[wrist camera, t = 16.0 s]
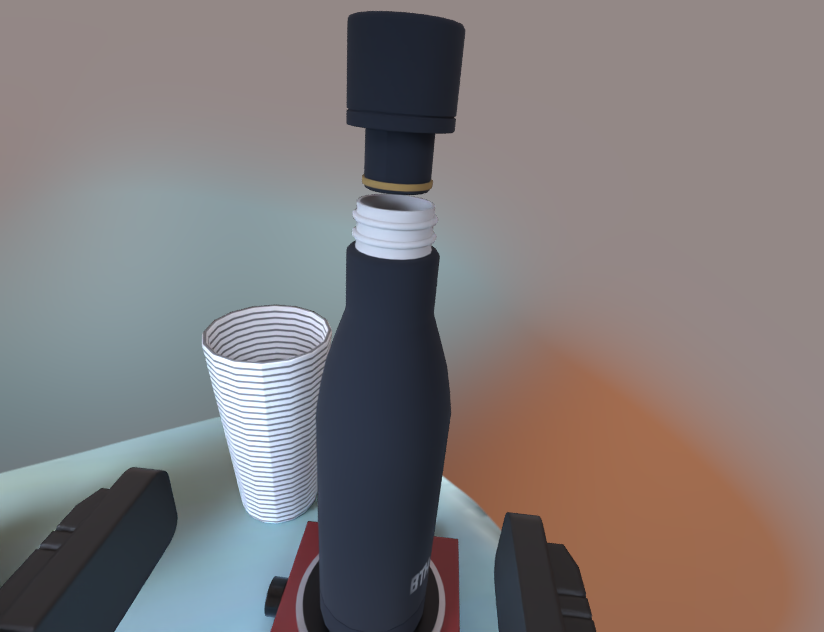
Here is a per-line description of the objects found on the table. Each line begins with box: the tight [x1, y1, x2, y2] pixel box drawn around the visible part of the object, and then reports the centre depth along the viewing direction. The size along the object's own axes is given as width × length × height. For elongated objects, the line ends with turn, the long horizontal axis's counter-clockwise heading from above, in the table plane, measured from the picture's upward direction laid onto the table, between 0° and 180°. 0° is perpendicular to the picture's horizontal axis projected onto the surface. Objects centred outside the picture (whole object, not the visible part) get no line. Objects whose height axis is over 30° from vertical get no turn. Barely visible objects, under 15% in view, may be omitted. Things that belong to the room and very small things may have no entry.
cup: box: [202, 305, 332, 523], centre depth 34 cm, size 8×8×16 cm
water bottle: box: [316, 11, 465, 632], centre depth 21 cm, size 6×6×30 cm
